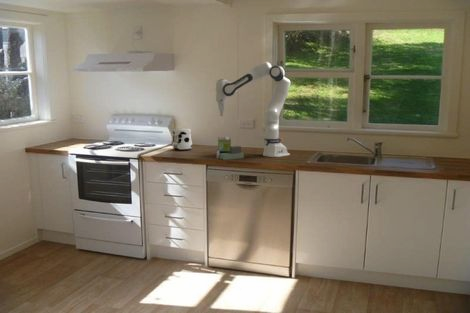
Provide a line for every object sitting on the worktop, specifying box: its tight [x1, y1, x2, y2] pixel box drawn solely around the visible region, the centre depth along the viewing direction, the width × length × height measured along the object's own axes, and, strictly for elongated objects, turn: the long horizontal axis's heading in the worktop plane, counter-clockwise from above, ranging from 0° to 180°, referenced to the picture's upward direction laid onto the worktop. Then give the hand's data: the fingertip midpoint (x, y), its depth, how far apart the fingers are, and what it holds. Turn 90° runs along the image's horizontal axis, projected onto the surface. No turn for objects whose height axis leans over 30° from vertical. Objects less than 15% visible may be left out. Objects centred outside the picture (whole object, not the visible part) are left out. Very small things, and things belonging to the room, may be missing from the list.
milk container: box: [172, 127, 193, 151], centre depth 396 cm, size 17×17×18 cm
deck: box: [216, 145, 245, 161], centre depth 357 cm, size 20×9×9 cm, turn 119°
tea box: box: [217, 136, 232, 158], centre depth 367 cm, size 15×10×15 cm
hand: (221, 116), depth 375 cm, fingers closed
